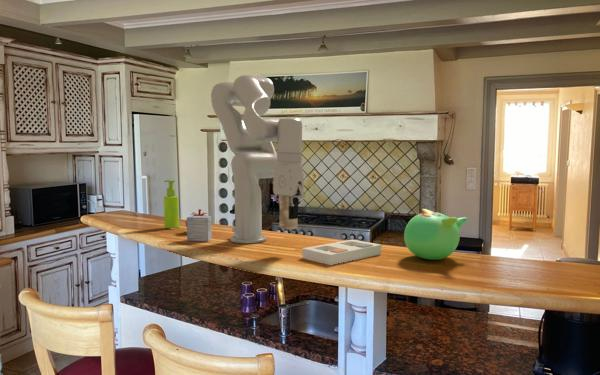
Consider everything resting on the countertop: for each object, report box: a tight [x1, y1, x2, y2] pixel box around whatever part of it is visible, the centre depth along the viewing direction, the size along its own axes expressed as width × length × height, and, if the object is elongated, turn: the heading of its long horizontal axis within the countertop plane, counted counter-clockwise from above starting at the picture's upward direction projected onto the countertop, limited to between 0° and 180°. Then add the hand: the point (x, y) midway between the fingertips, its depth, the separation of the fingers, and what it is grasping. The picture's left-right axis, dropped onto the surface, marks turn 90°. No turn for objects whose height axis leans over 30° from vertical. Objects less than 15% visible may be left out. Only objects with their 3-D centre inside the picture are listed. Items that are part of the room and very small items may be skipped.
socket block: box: [301, 239, 382, 266], centre depth 146 cm, size 12×22×3 cm, turn 131°
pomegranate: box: [184, 208, 212, 228], centre depth 188 cm, size 10×10×9 cm
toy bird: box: [403, 208, 469, 261], centre depth 142 cm, size 18×17×15 cm
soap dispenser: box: [163, 179, 180, 229], centre depth 199 cm, size 6×7×20 cm
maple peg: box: [278, 194, 299, 230], centre depth 149 cm, size 4×4×11 cm
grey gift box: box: [186, 215, 213, 242], centre depth 172 cm, size 8×4×9 cm, turn 84°
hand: (288, 217), depth 149 cm, fingers closed on maple peg, 4 cm apart
